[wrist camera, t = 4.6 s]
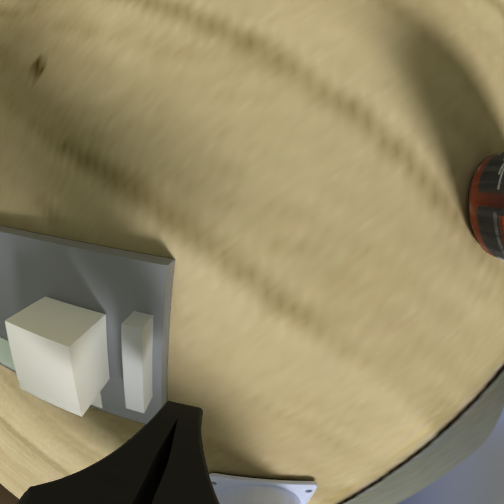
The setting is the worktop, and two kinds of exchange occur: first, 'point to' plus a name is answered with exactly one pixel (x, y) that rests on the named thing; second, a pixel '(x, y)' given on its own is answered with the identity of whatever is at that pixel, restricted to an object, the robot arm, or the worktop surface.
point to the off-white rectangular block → (60, 353)
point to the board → (98, 309)
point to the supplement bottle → (488, 205)
